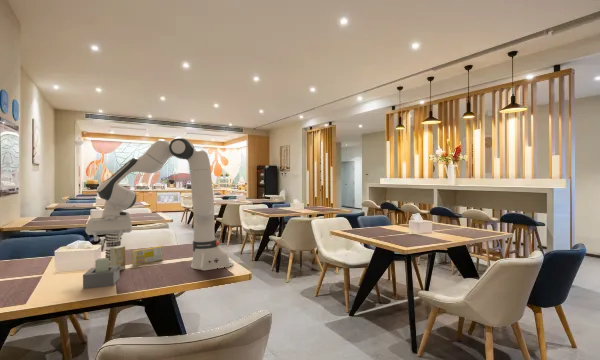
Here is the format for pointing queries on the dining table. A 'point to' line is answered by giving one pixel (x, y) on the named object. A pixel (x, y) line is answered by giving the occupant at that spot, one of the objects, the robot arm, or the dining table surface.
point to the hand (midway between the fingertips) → (107, 239)
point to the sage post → (102, 265)
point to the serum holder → (101, 277)
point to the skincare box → (117, 256)
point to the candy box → (146, 255)
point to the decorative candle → (111, 243)
